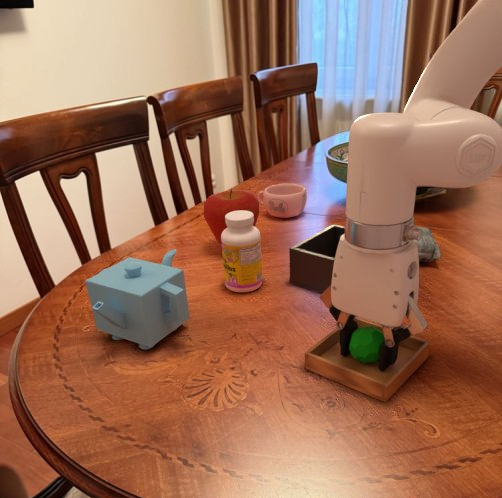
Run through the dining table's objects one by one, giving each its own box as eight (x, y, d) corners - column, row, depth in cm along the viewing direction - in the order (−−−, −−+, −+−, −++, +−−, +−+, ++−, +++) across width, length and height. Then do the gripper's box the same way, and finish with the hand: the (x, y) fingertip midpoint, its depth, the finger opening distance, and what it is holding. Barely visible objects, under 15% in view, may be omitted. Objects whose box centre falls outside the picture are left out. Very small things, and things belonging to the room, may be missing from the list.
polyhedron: (390, 355, 70) (394, 324, 68) (378, 374, 67) (381, 343, 64) (356, 345, 73) (358, 316, 70) (342, 364, 69) (343, 333, 67)
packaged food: (390, 269, 94) (393, 243, 91) (382, 244, 104) (385, 220, 101) (440, 269, 93) (444, 243, 90) (427, 243, 103) (430, 220, 100)
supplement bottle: (219, 281, 93) (213, 212, 86) (254, 274, 95) (250, 205, 88) (232, 297, 88) (227, 224, 81) (268, 288, 90) (265, 217, 83)
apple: (247, 233, 112) (244, 177, 106) (270, 250, 104) (268, 190, 98) (200, 244, 109) (193, 186, 102) (219, 262, 100) (214, 201, 94)
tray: (428, 357, 70) (430, 341, 69) (385, 402, 63) (387, 386, 62) (351, 330, 77) (352, 315, 76) (304, 368, 70) (304, 352, 68)
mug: (312, 209, 123) (312, 184, 120) (297, 223, 116) (297, 197, 113) (266, 205, 128) (265, 180, 125) (249, 218, 120) (247, 193, 117)
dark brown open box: (407, 277, 91) (411, 241, 87) (368, 308, 82) (371, 270, 79) (332, 256, 100) (333, 224, 96) (289, 283, 91) (289, 248, 88)
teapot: (69, 346, 77) (49, 277, 71) (149, 295, 90) (138, 233, 84) (149, 375, 70) (135, 302, 64) (224, 315, 83) (218, 249, 77)
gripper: (463, 234, 57) (440, 367, 67) (332, 207, 67) (328, 327, 77) (434, 257, 53) (414, 396, 62) (298, 225, 62) (298, 350, 72)
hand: (367, 357), depth 70 cm, fingers closed on polyhedron, 5 cm apart
